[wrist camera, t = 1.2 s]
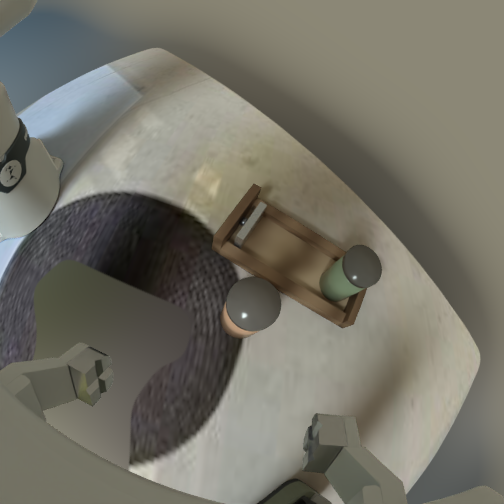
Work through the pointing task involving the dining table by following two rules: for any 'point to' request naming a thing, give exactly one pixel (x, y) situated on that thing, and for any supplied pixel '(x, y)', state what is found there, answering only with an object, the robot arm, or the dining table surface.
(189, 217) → the dining table surface
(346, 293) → the olive jar
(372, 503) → the robot arm
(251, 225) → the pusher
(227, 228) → the wooden tray
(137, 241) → the dining table surface
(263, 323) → the terracotta jar
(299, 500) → the device
